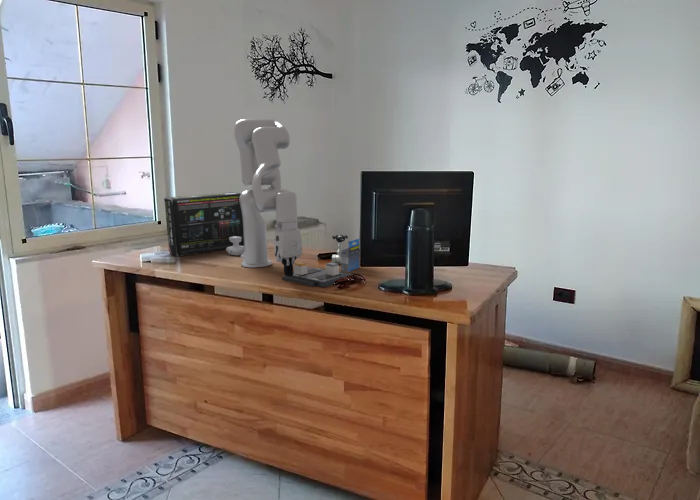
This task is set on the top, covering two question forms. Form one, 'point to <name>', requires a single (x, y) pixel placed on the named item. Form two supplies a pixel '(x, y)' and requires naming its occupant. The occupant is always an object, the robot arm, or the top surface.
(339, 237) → the valve
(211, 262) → the top surface
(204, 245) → the router box
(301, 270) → the orange-capped toggle
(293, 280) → the dark grey bar
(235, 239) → the stamp
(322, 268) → the back cord
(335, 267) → the grey-capped toggle
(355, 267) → the label tape box
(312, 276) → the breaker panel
